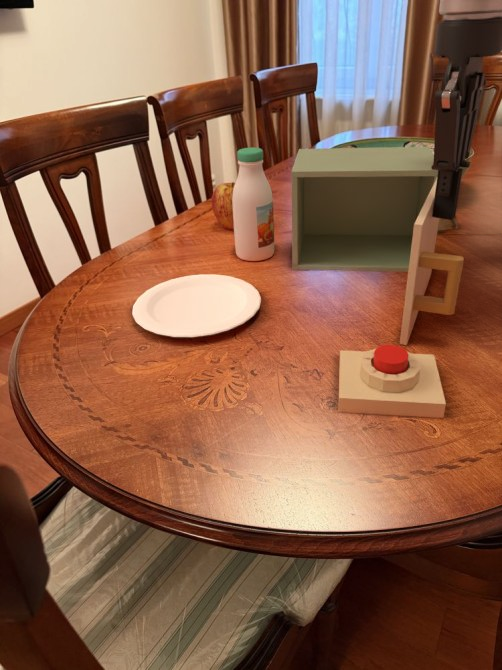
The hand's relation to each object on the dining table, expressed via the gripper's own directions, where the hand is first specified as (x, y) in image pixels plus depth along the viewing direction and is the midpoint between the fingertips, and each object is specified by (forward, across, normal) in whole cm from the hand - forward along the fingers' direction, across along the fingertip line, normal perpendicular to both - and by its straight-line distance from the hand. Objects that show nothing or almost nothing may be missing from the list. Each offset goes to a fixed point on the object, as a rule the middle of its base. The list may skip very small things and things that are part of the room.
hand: (443, 216), depth 72 cm
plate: (+16, +17, -32) cm, 40 cm away
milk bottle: (+16, -6, -37) cm, 41 cm away
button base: (+16, +20, +2) cm, 26 cm away
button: (+12, +20, +2) cm, 24 cm away
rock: (+16, -33, -11) cm, 38 cm away
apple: (+15, -17, -50) cm, 55 cm away
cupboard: (+15, -16, -19) cm, 29 cm away
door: (+15, -2, 0) cm, 16 cm away
